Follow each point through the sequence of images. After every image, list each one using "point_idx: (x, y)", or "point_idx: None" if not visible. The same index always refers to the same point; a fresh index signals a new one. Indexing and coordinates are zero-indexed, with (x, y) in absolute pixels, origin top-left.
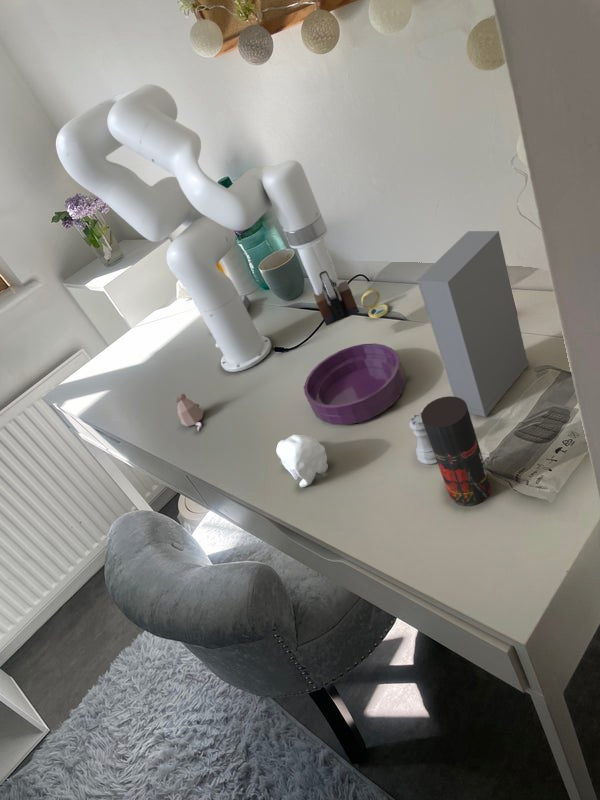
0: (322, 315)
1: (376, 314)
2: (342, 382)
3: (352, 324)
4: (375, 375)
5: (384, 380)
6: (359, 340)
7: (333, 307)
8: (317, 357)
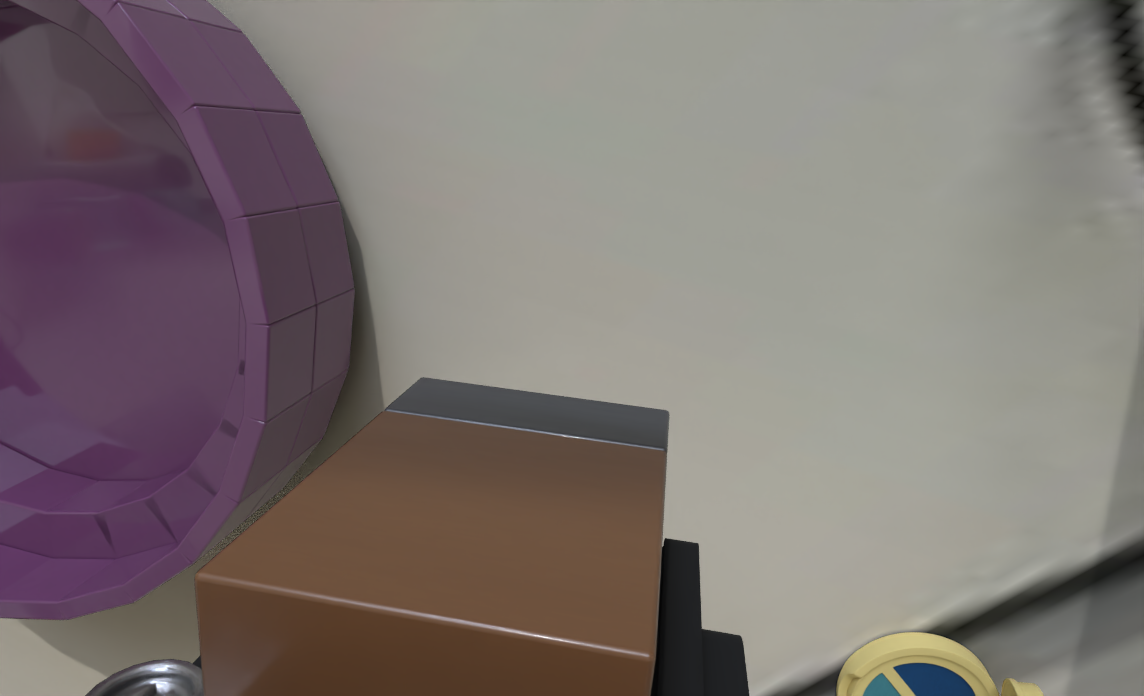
0: (354, 443)
1: (868, 680)
2: (202, 206)
3: (950, 505)
4: (157, 407)
5: (86, 429)
6: (673, 466)
7: (197, 666)
8: (726, 121)
